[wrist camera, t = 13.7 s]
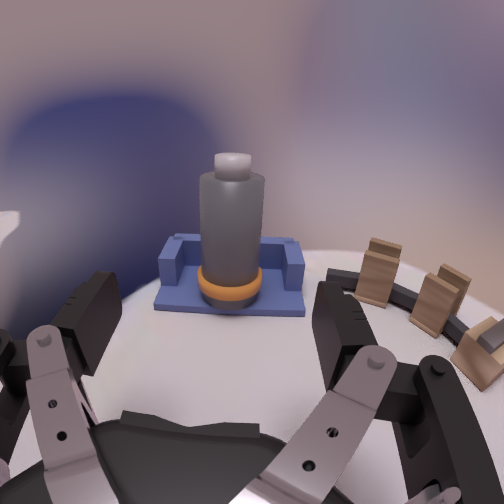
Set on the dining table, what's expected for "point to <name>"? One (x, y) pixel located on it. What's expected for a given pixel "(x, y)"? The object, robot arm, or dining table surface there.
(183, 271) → the holder
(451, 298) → the clip
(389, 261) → the clip
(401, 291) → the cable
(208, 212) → the grey piece
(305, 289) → the dining table surface
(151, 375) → the dining table surface
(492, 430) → the dining table surface
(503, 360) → the tan wooden end block
